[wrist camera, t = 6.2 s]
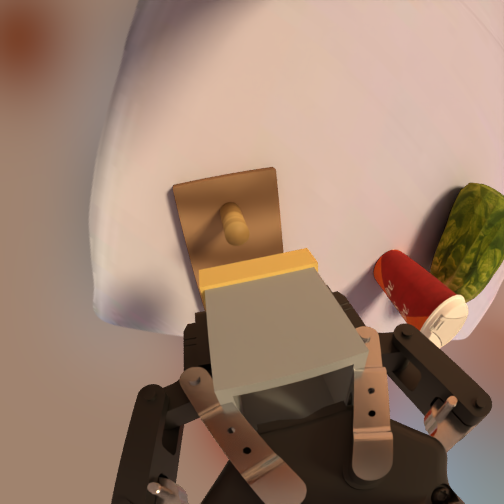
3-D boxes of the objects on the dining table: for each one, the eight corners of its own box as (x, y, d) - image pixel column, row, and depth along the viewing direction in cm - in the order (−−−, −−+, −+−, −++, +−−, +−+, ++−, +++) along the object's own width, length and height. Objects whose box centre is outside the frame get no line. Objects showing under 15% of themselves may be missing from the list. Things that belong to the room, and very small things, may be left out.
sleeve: (198, 269, 14) (206, 389, 8) (307, 247, 14) (375, 344, 8) (220, 345, 17) (236, 448, 11) (308, 325, 17) (351, 417, 11)
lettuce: (396, 284, 39) (439, 331, 29) (454, 163, 31) (513, 190, 21) (434, 292, 43) (471, 331, 33) (484, 191, 34) (532, 218, 25)
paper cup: (357, 280, 37) (412, 351, 25) (388, 234, 34) (458, 294, 22) (388, 294, 40) (439, 356, 28) (417, 254, 37) (478, 309, 25)
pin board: (173, 184, 26) (166, 207, 21) (272, 166, 27) (293, 183, 22) (206, 309, 34) (209, 349, 29) (284, 293, 35) (300, 329, 30)
